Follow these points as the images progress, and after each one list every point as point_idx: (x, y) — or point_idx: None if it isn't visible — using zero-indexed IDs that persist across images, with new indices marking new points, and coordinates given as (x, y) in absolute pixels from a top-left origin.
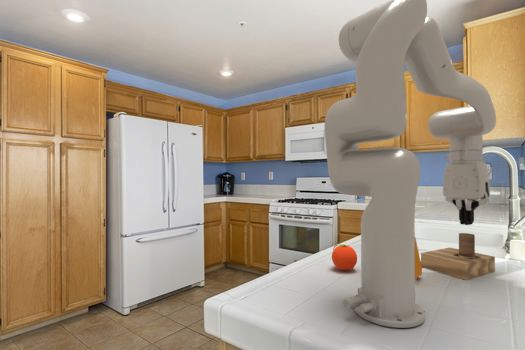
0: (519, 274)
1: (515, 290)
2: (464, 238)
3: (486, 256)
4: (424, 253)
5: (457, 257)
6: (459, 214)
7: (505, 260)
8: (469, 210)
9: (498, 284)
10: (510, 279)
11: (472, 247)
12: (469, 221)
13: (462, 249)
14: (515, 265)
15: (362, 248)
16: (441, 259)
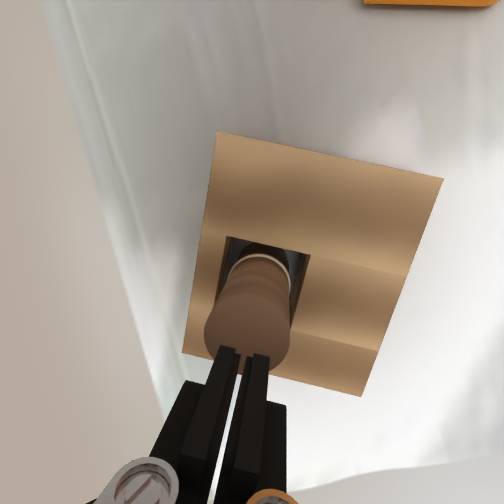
0: (143, 340)
1: (96, 151)
2: (247, 288)
3: (202, 333)
4: (425, 184)
5: (278, 226)
6: (282, 450)
7: (215, 472)
8: (146, 466)
9: (146, 176)
10: (142, 264)
11: (223, 287)
12: (200, 385)
13: (265, 269)
14: None
15: None
16: (328, 154)
